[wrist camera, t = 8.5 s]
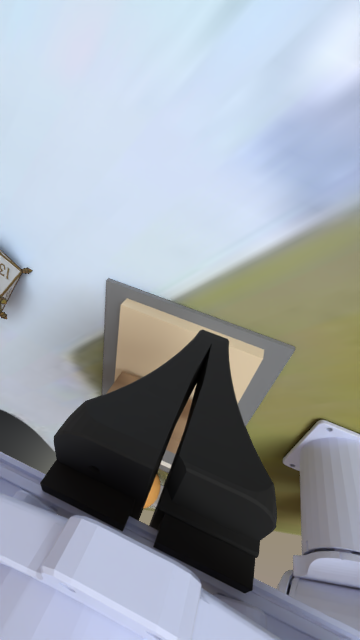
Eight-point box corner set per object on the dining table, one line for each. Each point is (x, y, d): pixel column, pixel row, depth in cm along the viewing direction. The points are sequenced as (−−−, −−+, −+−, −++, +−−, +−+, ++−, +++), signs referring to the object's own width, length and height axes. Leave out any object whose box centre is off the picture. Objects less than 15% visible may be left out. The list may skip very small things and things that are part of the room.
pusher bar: (221, 412, 25) (210, 455, 21) (215, 424, 26) (204, 467, 22) (122, 371, 26) (97, 405, 23) (120, 384, 27) (97, 418, 24)
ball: (149, 519, 37) (163, 482, 41) (153, 509, 34) (168, 469, 38) (116, 503, 38) (133, 468, 42) (117, 491, 35) (135, 454, 38)
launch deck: (295, 346, 21) (295, 368, 19) (193, 504, 42) (188, 523, 40) (108, 278, 23) (92, 291, 21) (100, 460, 44) (91, 476, 42)
